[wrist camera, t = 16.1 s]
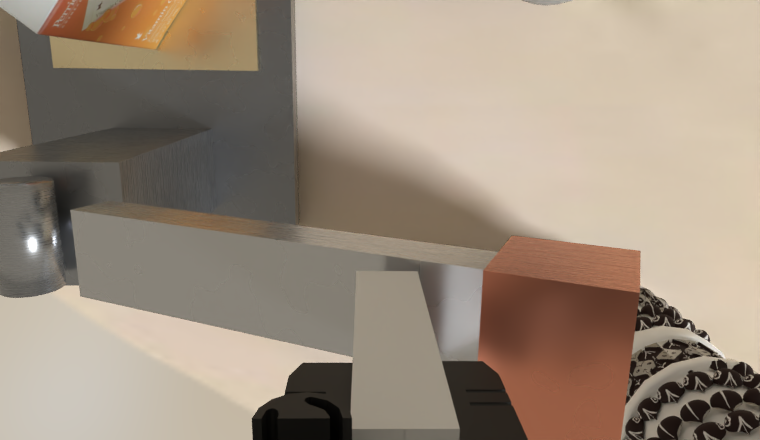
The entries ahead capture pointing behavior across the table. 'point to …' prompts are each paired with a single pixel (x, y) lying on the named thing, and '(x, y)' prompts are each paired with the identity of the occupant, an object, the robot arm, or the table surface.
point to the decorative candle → (685, 382)
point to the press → (168, 117)
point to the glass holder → (547, 2)
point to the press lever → (353, 293)
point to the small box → (98, 19)
